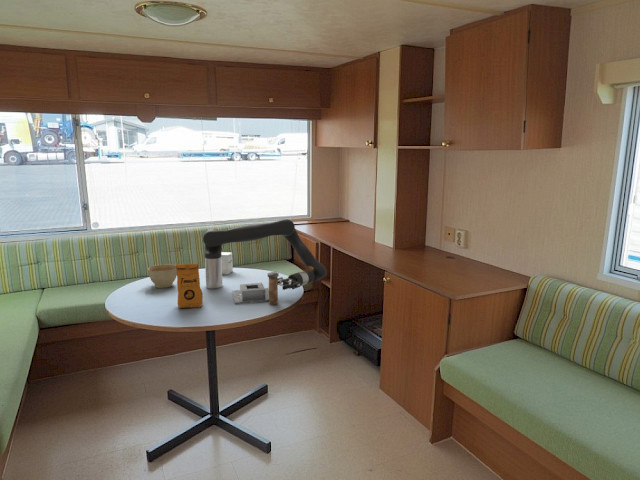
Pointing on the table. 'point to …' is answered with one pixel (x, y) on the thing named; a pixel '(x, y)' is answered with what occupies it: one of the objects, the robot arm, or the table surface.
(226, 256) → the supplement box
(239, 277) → the table surface
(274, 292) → the walnut pin
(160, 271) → the planter bowl
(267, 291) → the socket block
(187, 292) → the coffee package
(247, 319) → the table surface
